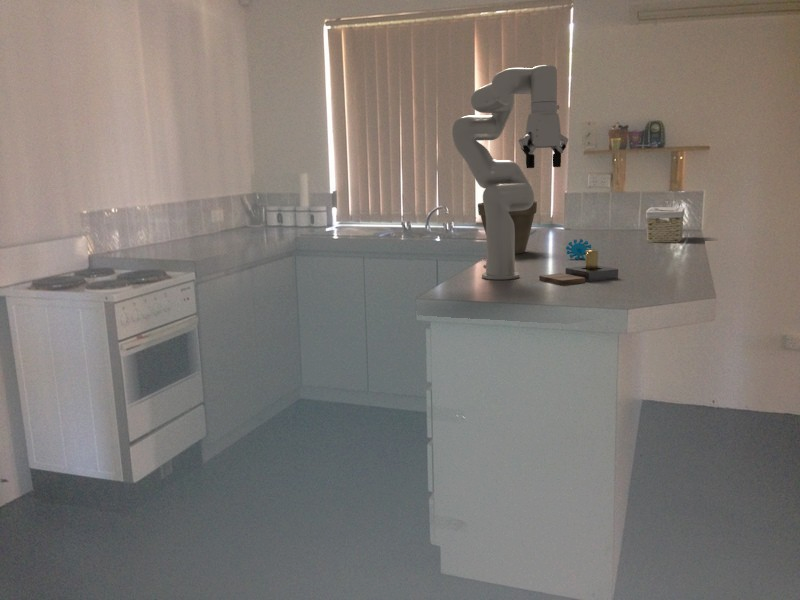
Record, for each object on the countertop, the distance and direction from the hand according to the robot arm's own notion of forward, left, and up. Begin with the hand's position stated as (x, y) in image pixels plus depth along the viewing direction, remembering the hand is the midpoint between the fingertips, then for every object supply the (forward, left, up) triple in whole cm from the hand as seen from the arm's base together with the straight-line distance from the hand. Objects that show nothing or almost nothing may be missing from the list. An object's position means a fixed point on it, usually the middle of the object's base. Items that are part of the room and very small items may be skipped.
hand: (543, 167), depth 216 cm
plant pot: (-79, +39, -37) cm, 95 cm away
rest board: (-5, +11, -37) cm, 39 cm away
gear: (-44, +50, -37) cm, 76 cm away
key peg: (-6, +24, -37) cm, 44 cm away
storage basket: (-71, +121, -37) cm, 145 cm away
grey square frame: (-6, +24, -37) cm, 44 cm away
